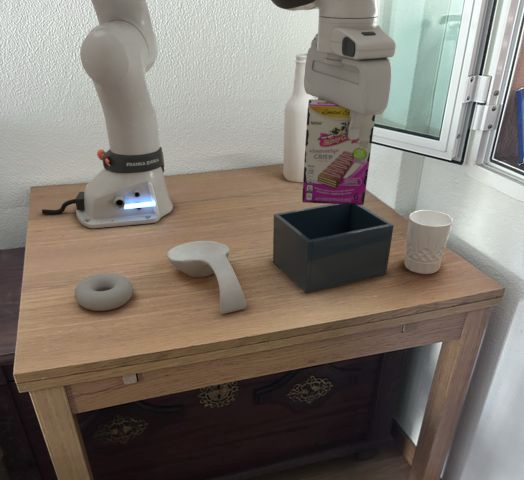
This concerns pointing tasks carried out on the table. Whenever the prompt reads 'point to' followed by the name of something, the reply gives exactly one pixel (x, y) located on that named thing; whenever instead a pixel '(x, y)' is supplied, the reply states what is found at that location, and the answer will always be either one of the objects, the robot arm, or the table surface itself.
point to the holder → (331, 245)
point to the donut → (103, 291)
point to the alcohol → (296, 125)
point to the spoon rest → (210, 269)
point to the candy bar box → (335, 156)
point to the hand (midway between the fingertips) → (338, 132)
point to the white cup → (426, 240)
